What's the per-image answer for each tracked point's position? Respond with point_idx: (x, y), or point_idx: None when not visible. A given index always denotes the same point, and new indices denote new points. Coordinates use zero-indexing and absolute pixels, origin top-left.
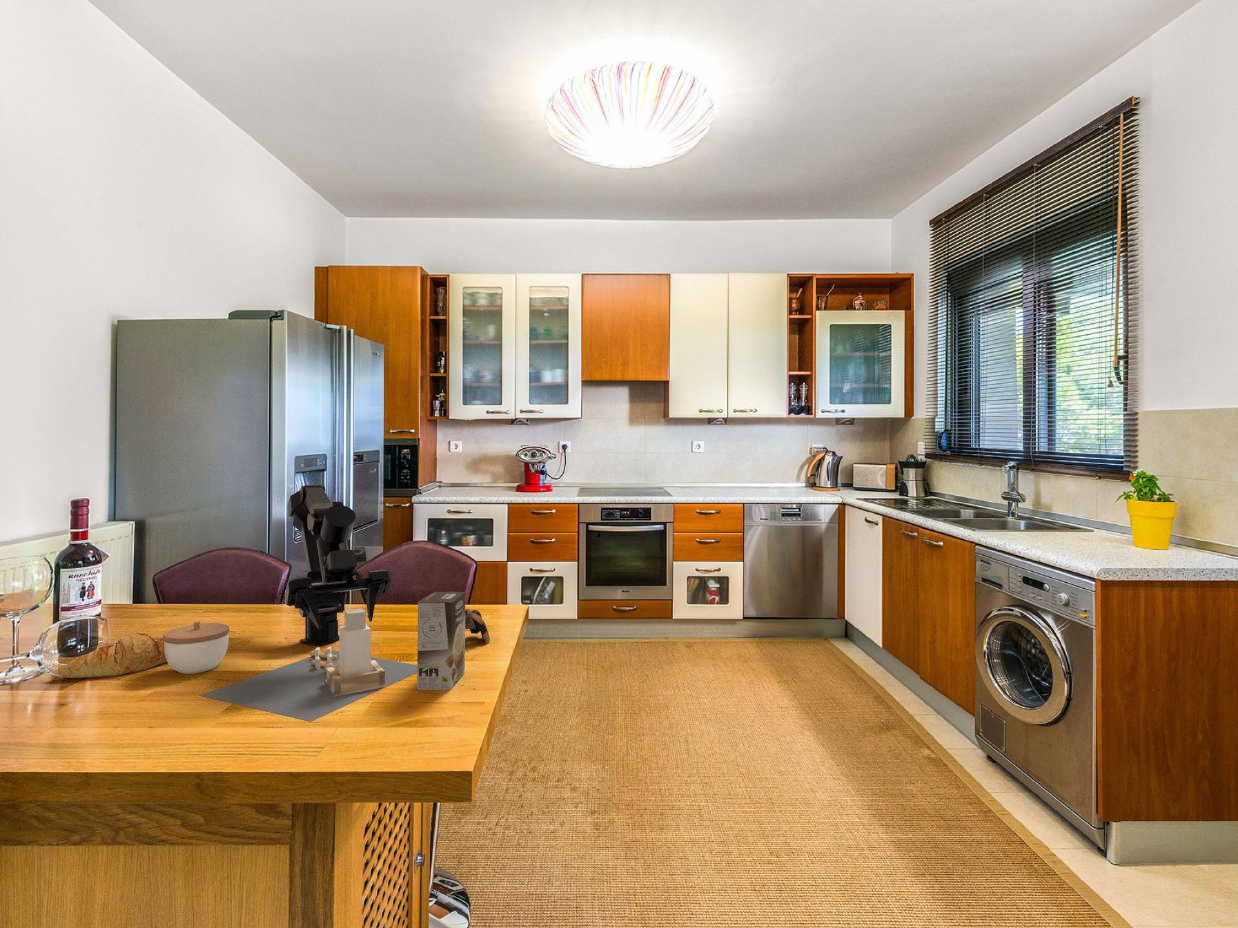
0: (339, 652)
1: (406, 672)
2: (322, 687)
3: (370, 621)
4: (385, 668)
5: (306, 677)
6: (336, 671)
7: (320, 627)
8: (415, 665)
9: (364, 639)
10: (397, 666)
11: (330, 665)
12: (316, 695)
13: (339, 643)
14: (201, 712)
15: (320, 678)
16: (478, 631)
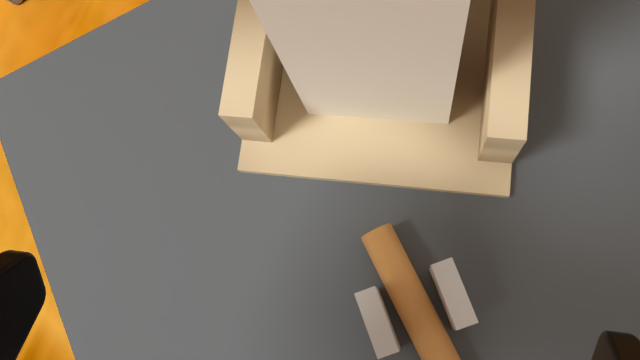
0: (460, 53)
1: (105, 76)
2: (548, 110)
3: (40, 281)
4: (155, 212)
5: (592, 355)
6: (419, 282)
7: (600, 344)
8: (16, 157)
9: None
10: (92, 202)
11: (460, 281)
12: (605, 10)
13: (467, 15)
14: None
15: (520, 274)
16: None
